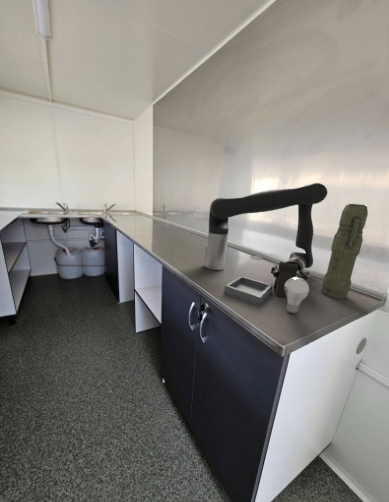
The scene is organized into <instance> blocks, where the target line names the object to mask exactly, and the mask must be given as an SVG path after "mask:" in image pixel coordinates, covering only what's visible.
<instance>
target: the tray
mask: <svg viewBox="0 0 389 502" xmlns="http://www.w3.org/2000/svg"><path fill="white" fill-rule="evenodd" d="M273 286H274V284H270V283H266V282H263V281H259V280H256V279H253V278H249V277H246V276H242V275H240V276H238V277H237V278H235V279H233V280H232V281H230V282H228V283H227V284H225V285H224V290H223V291H224V293H223V294H225V295H228V296H230V297H233V298H236V299H238V300H242V301H244V302H248V303H251V304H253V305H256V306H260V305H261V304H262V303H263V302H264V301H265V300H266V299H267V297H269V296H270V295H271V293H272V292H273V291H272V290H273Z"/></svg>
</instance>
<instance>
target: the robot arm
mask: <svg viewBox="0 0 389 502" xmlns="http://www.w3.org/2000/svg"><path fill="white" fill-rule="evenodd" d="M327 195H328V188H327V187H326V185H324V184H323V183H321V182H320V183H319V182H313V183H307V184H304V185H302V186H300V187H295V188H279V189H270V190H263V191H259V192H255V193H251V194H248V195H245V196H241V197H231V198H229V197H228V198H225V197H223V198H222V197H219V198H218V197H217V198H216V199H215V198H214V199H213V201H212V202H211V204H210V207H209V214H208V216H209V217H208V218H209V220H208V235H207V242H206V243H207V245H206V246H205V248H204V258H203V267H205V268H206V269H208V270H213V271H222V270H224V268H225V262H226V255H227V246H228V238H229V237H228V235H229V218H232V217H236V216H240V215H246V214H258V213H266V212H270V211H271V212H273V211H276V210H281V209H285V208H290V207H293V206H297V213H298V215H297V217H298V218H297V219H298V220H297V230H296V231H297V232H296V236H295V247H297V248H299V249H302V250H303V251H304V252H305V253H304V252H299V251H293V252H291V253H290V255H289V259H288V260H286V262H285V263H292V264H297V265H298V268H297V273H296V276H294V277H300V278H303V279H304V280H305V281H306V282H307V281H308V280H309V278H310V271H305V269H310V268H311V267H313V264H314V257H313V251H312V250H313V249H312V244H313V238H314V224H313V219H312V211H313V205H317V204H319V203H322V202H323V201H324V200H325V199H326V197H327ZM278 267H279V266H278V264H276V263H274V264H273V265H272V266H271V271H270V274H272V276H273V278H275V279H276V277H277V274H278ZM304 271H305V272H304Z"/></svg>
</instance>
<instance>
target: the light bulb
mask: <svg viewBox="0 0 389 502" xmlns="http://www.w3.org/2000/svg"><path fill="white" fill-rule="evenodd" d="M284 290H285V293H286V295H287V298H286V300H287V303H286V310H287V311H288V312H289V314H291V315H293V314H295V313H297V312H298V311H299V307H300V305H301V303H302V301H303V300H305V299H306V298H307V296H308V295H309V293H310V286H309V284H308V282H307V280H306V281H305V280H304V279H303V278H300V277H292V278H290V279H288V280H287V281H286V283H285V286H284Z"/></svg>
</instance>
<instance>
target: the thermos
mask: <svg viewBox="0 0 389 502" xmlns="http://www.w3.org/2000/svg"><path fill="white" fill-rule="evenodd" d="M368 214H369V211H368V206H366V205H365V204H358V203H348V204H346V205H345V206H344V208H343V209H342V211H341V215H340V219H339V223H338V228H337V231H336V232H335V234H334V236H333V240H332V244H331V248H330V250H331V254H330V257H329V262H328V266H327V269H326V273H325V274H324V277H323V280H322V284H321V291H320V293H321V294H323V295H325V296H326V297H329V298H330V299H331V298H332V299H334V300H335V299H336V300H342V301H344V300H346V299H347V298H348V297H347V296H348V293H349V292H350V289H351V285H352V274H353V271H354V268H355V264H356V261H357V257H358V255H360V252H361V248H362V244H363V240H364V239H363V233H364V232H363V230H364V228H365V225H366V222H367V219H368V216H369V215H368Z"/></svg>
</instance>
